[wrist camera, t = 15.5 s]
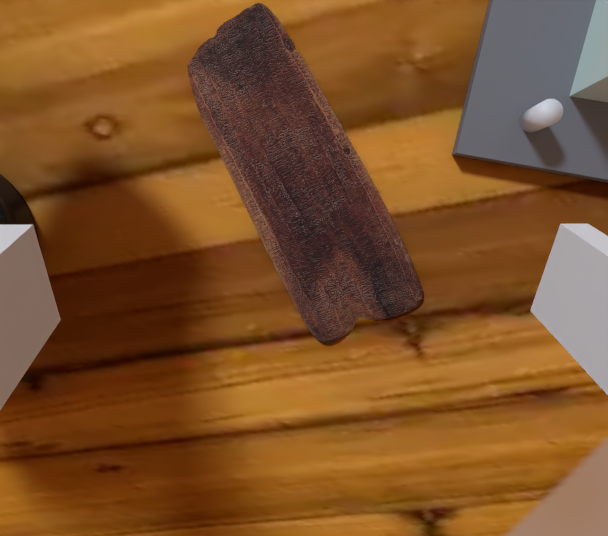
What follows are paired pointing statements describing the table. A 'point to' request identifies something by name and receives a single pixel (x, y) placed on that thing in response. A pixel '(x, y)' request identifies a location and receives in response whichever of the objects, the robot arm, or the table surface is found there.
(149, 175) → the table surface
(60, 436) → the table surface
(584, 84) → the mint board
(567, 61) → the peg plinth
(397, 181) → the table surface
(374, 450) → the table surface
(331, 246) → the wooden tablet
